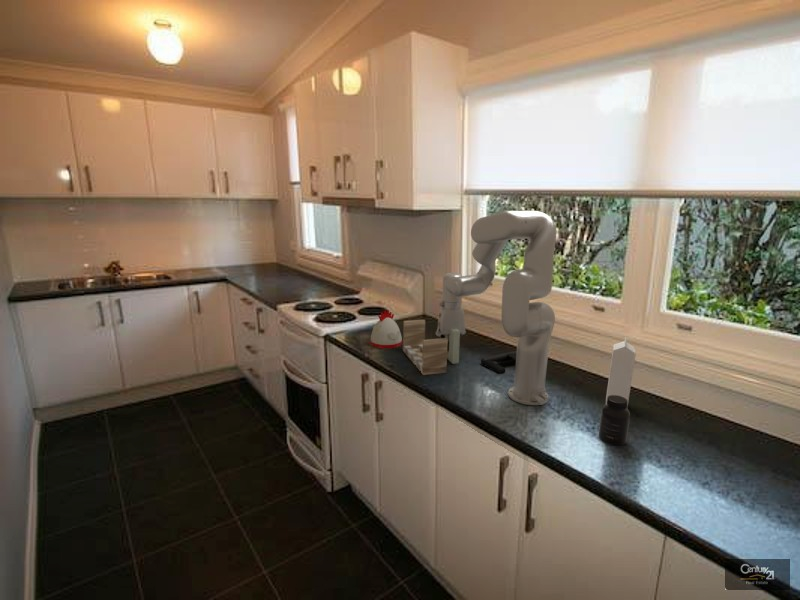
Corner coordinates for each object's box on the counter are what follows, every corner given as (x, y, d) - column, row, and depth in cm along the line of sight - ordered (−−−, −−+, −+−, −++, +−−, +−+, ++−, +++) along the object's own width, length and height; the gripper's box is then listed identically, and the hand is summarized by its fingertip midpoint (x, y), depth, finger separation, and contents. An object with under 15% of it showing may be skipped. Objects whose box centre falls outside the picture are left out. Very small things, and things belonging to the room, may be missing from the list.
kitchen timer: (364, 342, 188) (364, 309, 185) (388, 336, 197) (389, 304, 194) (383, 350, 178) (383, 316, 175) (408, 344, 187) (408, 311, 183)
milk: (605, 407, 132) (614, 340, 127) (605, 399, 138) (614, 334, 133) (627, 411, 130) (637, 343, 125) (626, 403, 135) (636, 337, 130)
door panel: (458, 363, 165) (460, 331, 162) (451, 363, 164) (452, 331, 161) (446, 352, 176) (448, 322, 173) (440, 353, 175) (440, 323, 172)
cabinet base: (446, 372, 157) (447, 339, 154) (423, 374, 154) (424, 341, 151) (423, 348, 181) (424, 319, 178) (403, 350, 179) (403, 320, 176)
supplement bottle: (601, 430, 119) (607, 390, 116) (628, 438, 115) (635, 398, 112) (594, 440, 114) (600, 399, 111) (622, 449, 110) (629, 407, 107)
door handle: (545, 363, 162) (515, 347, 175) (506, 373, 152) (477, 356, 165) (544, 371, 163) (514, 355, 176) (505, 381, 153) (476, 363, 166)
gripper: (435, 308, 160) (434, 354, 164) (474, 306, 164) (472, 351, 168) (428, 303, 167) (427, 348, 171) (466, 301, 171) (464, 345, 175)
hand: (450, 349), depth 169 cm, fingers closed on door panel, 2 cm apart
